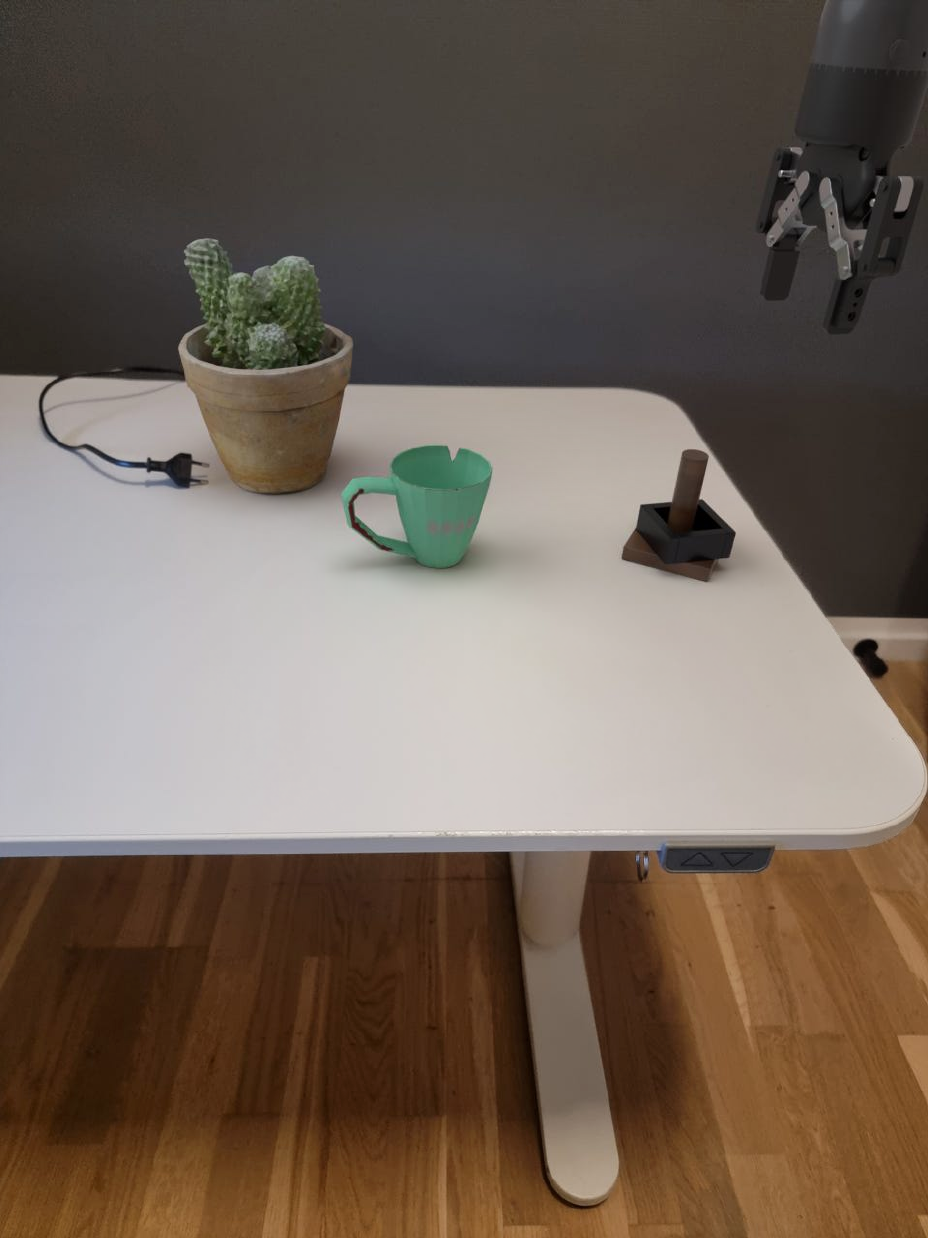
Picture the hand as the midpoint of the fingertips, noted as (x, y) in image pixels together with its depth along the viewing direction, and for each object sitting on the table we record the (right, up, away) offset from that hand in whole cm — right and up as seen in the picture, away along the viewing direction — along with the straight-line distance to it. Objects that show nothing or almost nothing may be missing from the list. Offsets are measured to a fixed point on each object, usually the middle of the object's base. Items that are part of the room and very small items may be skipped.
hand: (803, 314), depth 65 cm
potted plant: (-48, -6, +36) cm, 60 cm away
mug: (-31, -17, +22) cm, 42 cm away
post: (-3, -16, +26) cm, 31 cm away
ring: (-3, -15, +24) cm, 29 cm away
